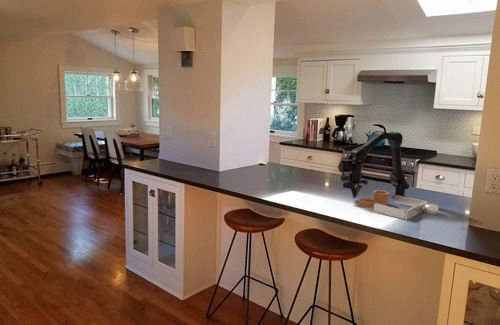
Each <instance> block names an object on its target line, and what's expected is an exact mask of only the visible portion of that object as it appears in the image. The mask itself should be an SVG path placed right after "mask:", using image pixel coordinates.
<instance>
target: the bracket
mask: <svg viewBox="0 0 500 325" xmlns="http://www.w3.org/2000/svg"><path fill="white" fill-rule="evenodd" d="M389 196H390V192H388V191H386V190H381V189H380V190H373V192H372V197H368V198H367V197H366V198H359V200H358V206H359V207H361V208H369V209H370V208H374V203H377V204H381V205H386V206H389V200H390V199H389Z"/></svg>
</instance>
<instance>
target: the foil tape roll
mask: <svg viewBox="0 0 500 325" xmlns="http://www.w3.org/2000/svg"><path fill="white" fill-rule="evenodd" d="M423 212H424V213H425V214H427V215H438V214H439V205H438V204H434V203H427V204H425V210H424V211H423Z"/></svg>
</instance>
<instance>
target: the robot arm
mask: <svg viewBox="0 0 500 325" xmlns="http://www.w3.org/2000/svg"><path fill="white" fill-rule="evenodd" d="M403 137H404V136H403V135H402V133H401V132H398V131H396V132H395V131H389V132H385V131H378V132H377V133H376V134H375V135H374V136H372V138H370V139H368V140H367V141H366V142H365V143H363V145H361V146H357V147H356V148H354V149H352V150H351V151H350V154H349V156H348V157H347V158H346V159H340V160H339V163H338V166H337V167H338V171H339V172H340V173H349V174H348V175H346V174H341V175H340V178H339V179H340V181H341V182H342V188H344V189H349V190H350V191H351V193H352V194H351V195H352V197H353V199H356V198H357V196H358V195H359V193H360V192H361V191H362V188H363V187H364V186H363V185H361V184H364V185H365V186H366V185H367V186H368V184H369V181H368V179H366V178H362V176H363V175H364V174H363V173H362V171H363V165H366V161H365V160H364V159H365V158H366V157H367V156H368V154H369V152H370V151H371V150H372V149H374V148H375V147H376V146H378V144H380V143H381V142H382V141H384V140H387V143H388V145H389V147H390V149H391V150H390V151H391V152H390V153H391V163H392V172H391V173H390V174H389V181H390V182H391V184H392V187H394V188H395V189H394V195H392V198H394V199H395V195H399V196H404V197H407V196H406V190H409V189H410V184H409V183H408V182H407V179H406V175H405V174H404V172H403V169H402V168H403V167H402V155H401V154H402V153H401V146H402V144H403V139H404V138H403Z"/></svg>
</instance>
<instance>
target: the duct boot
mask: <svg viewBox="0 0 500 325" xmlns="http://www.w3.org/2000/svg"><path fill="white" fill-rule="evenodd" d="M394 195H395V194H394ZM394 204H397V205H402V206H408V207H410V208H408V209H403V208H398V207H393V206H390V205H387V206H386V205H381V204H377V203H374V207H373V213H377V214H381V215H385V216H389V217H393V218H397V219H401V220H405V221H407V220H409V219H411V218H413V217H415V216H417V215H419V214H420V213H422V212H424V210H425V204H428V201H427V200H424V199H423V200H422V199H418V198H412V197H407V196H406V197H404V196H399V195H395V198H394Z"/></svg>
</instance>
